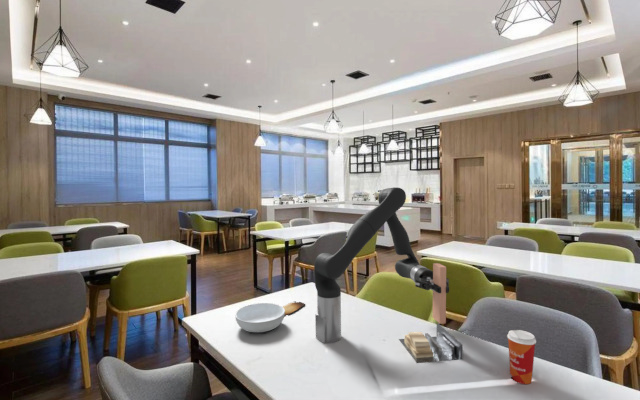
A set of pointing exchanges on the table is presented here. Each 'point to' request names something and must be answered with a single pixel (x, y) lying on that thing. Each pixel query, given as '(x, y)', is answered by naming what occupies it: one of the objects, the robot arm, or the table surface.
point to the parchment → (292, 307)
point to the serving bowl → (260, 317)
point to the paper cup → (521, 355)
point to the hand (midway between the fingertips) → (444, 290)
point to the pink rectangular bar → (439, 298)
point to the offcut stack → (418, 344)
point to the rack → (440, 347)
